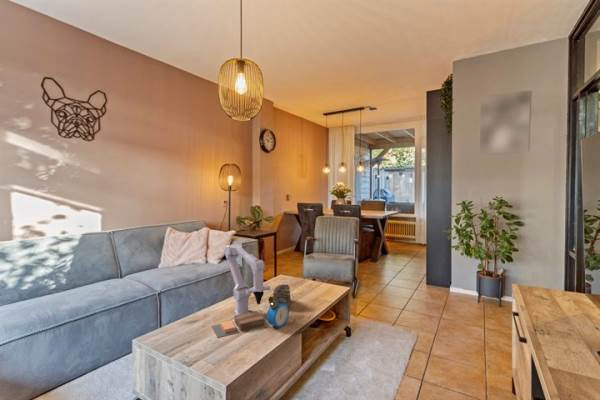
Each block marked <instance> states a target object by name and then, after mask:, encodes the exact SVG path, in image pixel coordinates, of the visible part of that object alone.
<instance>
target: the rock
mask: <svg viewBox="0 0 600 400" xmlns="http://www.w3.org/2000/svg"><path fill="white" fill-rule="evenodd" d="M280 298H283V299H285V300H286V303H284V304H286V305H287V306H288V307H290V306H292V298H291V290H290V285H288V284H285V283H283V284H279V285H277V286H276V287H275V288H274V289H273V293H272V296H269V297H268V303H269V304H271V302H273V301H278V299H280ZM278 302H280V301H278ZM282 303H283V302H282Z"/></svg>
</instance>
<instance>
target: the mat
mask: <svg viewBox="0 0 600 400" xmlns="http://www.w3.org/2000/svg"><path fill="white" fill-rule="evenodd" d="M232 323H233V324H234V326H235V327H236V331H232V332H228V333H224V331H223V329H222V328H221V323H220V324H219V323H218V324H216V325H215V324H214V325H212V326H211V328H212V330H213V332H214V333H215V336H216V337H217V338H222V337H228V336H230V335H235V334H238V333H239V334H240V333H241V331H240V329H239V328H238V326H237V325H236V324H235V322H234V321H232Z"/></svg>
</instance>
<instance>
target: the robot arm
mask: <svg viewBox="0 0 600 400" xmlns="http://www.w3.org/2000/svg"><path fill="white" fill-rule="evenodd" d="M223 252H224V254H225V255H224V256H225V258H226V260H227V263H228V266H229V269H230V272H231V276H232V278H233V281H234V284H235V286H234V288H233V289H232V292H233V298H234V300H235V308H234V309H233V311H234V313H235V314H236V315H240V314H245V313H249V312H250V310H249V299H250V297H251V296H252V294H253V295H254V297H255V302H256V304H257V305H260V304H261V301H262V298H263V297H264V295H265V292H264V291H270V290H271V286H270V285H266V286H264V270H265V269H266V263H265V261H264V260H263V259H258V258H257V257H256V256H254V254H251V253H248V252H247V251H246V250H245V249H243V245H241V244H240V243H236V244H229V245H226V246H225V247H224V250H223ZM239 257H241V258H243V259H244V261H245V263H246V264H247V265H249V266H250V267H251V270H252V275H253V287H252V288H250V287H249V285H248V284H247V283H245V281H244V279H243V276H242V273H241V270H240V267H239V264H238V261H237V258H239Z"/></svg>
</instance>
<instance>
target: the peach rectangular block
mask: <svg viewBox="0 0 600 400" xmlns="http://www.w3.org/2000/svg"><path fill="white" fill-rule="evenodd" d="M232 322H233V321H232V320H228V321H223V322H220V324H221V328H222V329H223V331H224V333H228V332H232V331H236V327H237V326H236V325H235V326H236V327H235V326H234V324H235V323H234V322H233V323H234V324H233V323H232Z"/></svg>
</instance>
